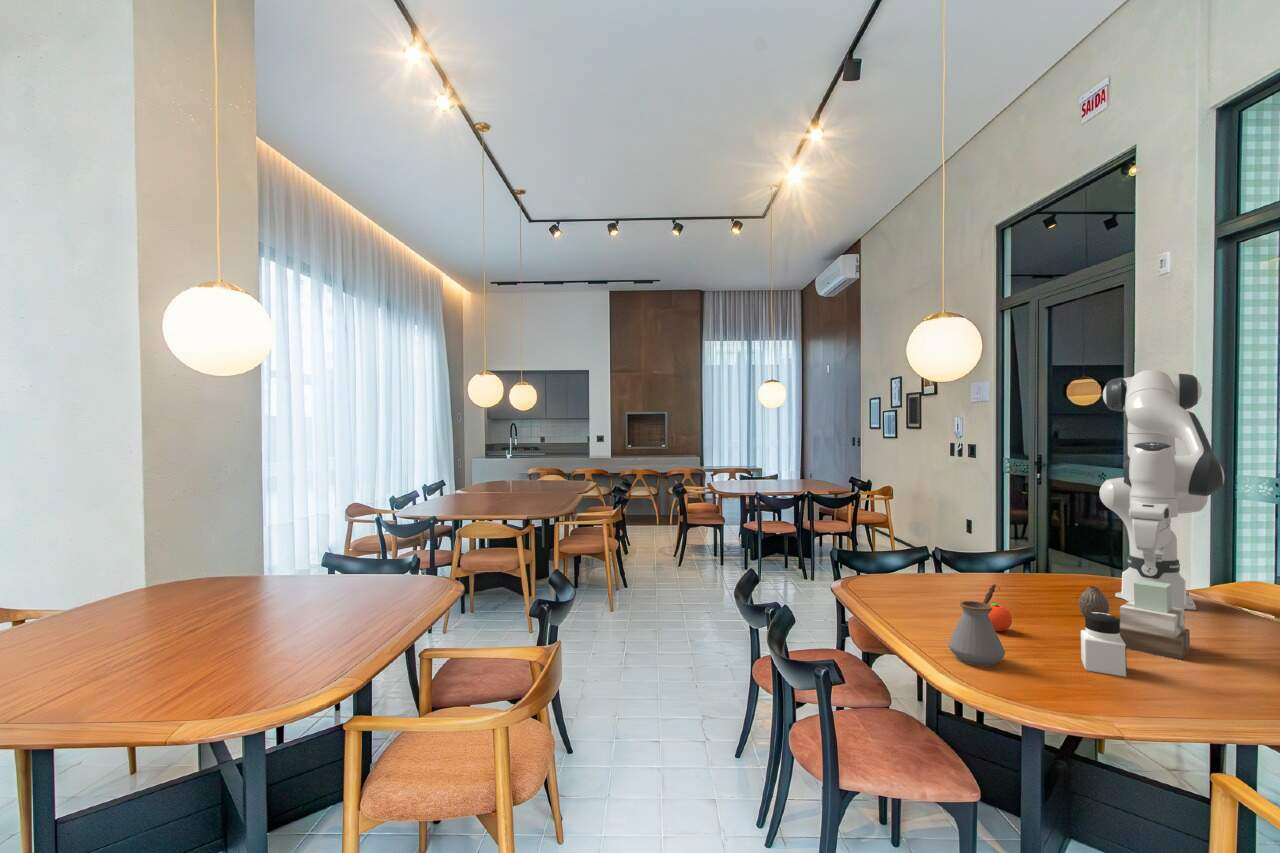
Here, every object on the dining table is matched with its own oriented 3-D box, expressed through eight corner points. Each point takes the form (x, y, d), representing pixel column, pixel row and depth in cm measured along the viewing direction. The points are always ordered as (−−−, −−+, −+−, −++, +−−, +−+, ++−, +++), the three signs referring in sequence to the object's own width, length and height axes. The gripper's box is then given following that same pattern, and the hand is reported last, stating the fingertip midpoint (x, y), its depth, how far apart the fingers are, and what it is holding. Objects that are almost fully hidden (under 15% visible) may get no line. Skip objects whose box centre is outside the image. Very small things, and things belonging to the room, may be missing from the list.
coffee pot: (996, 674, 124) (995, 605, 125) (940, 659, 133) (939, 595, 133) (1023, 649, 139) (1022, 588, 139) (971, 637, 147) (970, 579, 148)
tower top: (1132, 619, 147) (1131, 599, 147) (1185, 629, 139) (1184, 609, 139) (1120, 627, 141) (1119, 606, 141) (1174, 638, 133) (1173, 616, 133)
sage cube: (1140, 603, 144) (1139, 579, 144) (1172, 608, 140) (1171, 583, 140) (1134, 607, 141) (1133, 583, 141) (1167, 613, 136) (1166, 587, 136)
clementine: (974, 625, 157) (974, 599, 157) (1000, 625, 157) (1000, 599, 157) (990, 635, 149) (990, 607, 149) (1018, 635, 149) (1017, 608, 149)
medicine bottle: (1127, 677, 122) (1125, 621, 123) (1085, 670, 126) (1084, 616, 126) (1120, 666, 128) (1119, 613, 129) (1081, 660, 132) (1080, 608, 132)
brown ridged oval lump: (1115, 622, 159) (1114, 590, 159) (1087, 620, 160) (1086, 589, 160) (1100, 614, 166) (1100, 584, 166) (1073, 613, 167) (1073, 583, 167)
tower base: (1126, 636, 148) (1126, 617, 149) (1189, 650, 139) (1189, 629, 139) (1115, 647, 141) (1114, 627, 141) (1181, 662, 132) (1180, 640, 132)
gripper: (1145, 503, 149) (1146, 555, 149) (1127, 510, 137) (1128, 568, 136) (1178, 505, 145) (1179, 560, 144) (1162, 513, 132) (1163, 573, 132)
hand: (1154, 564), depth 140 cm, fingers open, 8 cm apart
